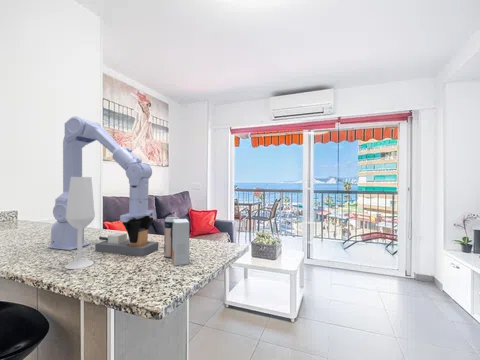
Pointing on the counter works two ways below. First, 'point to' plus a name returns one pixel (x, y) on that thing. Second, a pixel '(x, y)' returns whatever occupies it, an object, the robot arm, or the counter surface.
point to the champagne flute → (80, 214)
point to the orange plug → (141, 238)
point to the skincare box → (180, 242)
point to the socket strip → (124, 246)
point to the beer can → (168, 236)
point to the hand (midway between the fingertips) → (138, 240)
